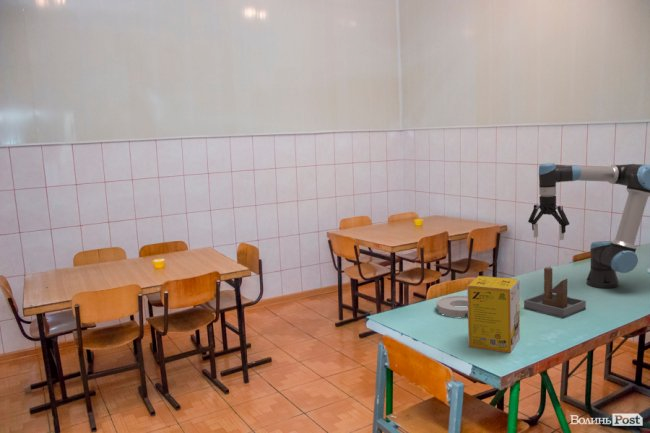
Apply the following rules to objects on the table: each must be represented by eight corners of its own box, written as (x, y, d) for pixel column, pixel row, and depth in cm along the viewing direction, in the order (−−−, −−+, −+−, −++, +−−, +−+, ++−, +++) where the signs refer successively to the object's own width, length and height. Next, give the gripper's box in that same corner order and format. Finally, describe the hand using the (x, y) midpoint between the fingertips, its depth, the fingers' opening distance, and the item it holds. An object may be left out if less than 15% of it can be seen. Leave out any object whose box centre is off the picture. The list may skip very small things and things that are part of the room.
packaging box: (479, 333, 232) (478, 275, 229) (519, 338, 224) (519, 278, 220) (468, 346, 218) (467, 285, 215) (510, 353, 210) (510, 289, 206)
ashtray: (472, 322, 247) (471, 313, 246) (427, 313, 262) (427, 305, 262) (495, 308, 263) (495, 300, 263) (452, 300, 279) (451, 293, 278)
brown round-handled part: (562, 310, 251) (563, 272, 249) (542, 305, 260) (542, 268, 257) (567, 308, 253) (567, 270, 251) (546, 303, 262) (546, 266, 259)
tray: (546, 300, 270) (546, 292, 269) (585, 309, 254) (585, 300, 253) (524, 308, 260) (524, 300, 259) (563, 318, 244) (563, 309, 243)
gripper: (520, 195, 274) (521, 237, 277) (568, 197, 255) (569, 242, 258) (528, 193, 279) (529, 234, 282) (576, 195, 259) (577, 239, 262)
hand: (548, 238), depth 270 cm, fingers open, 13 cm apart
